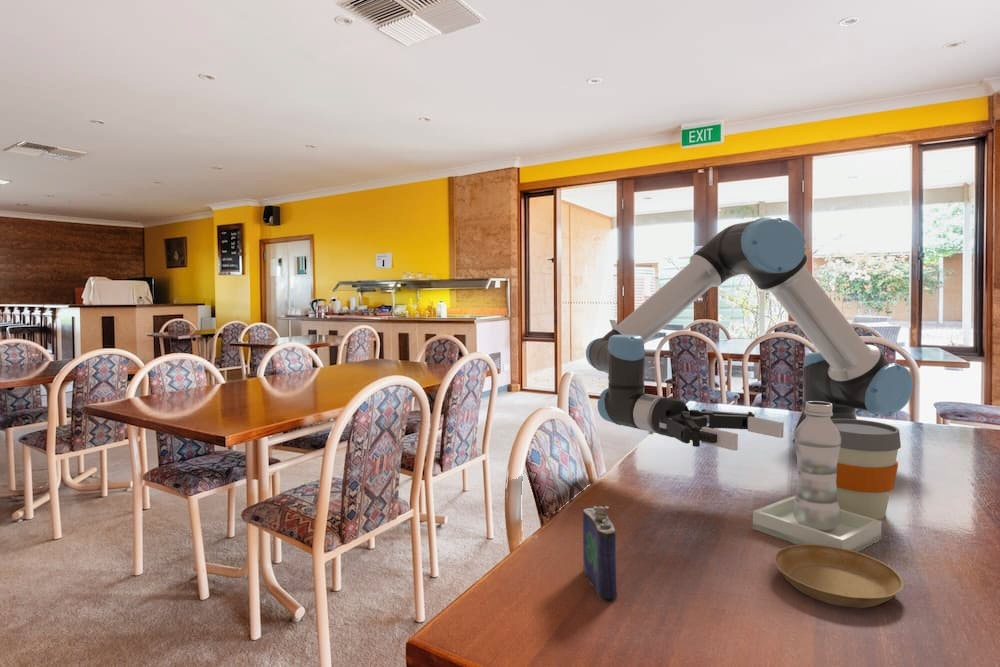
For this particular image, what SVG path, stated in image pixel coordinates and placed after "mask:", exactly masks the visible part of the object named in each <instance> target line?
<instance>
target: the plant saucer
mask: <svg viewBox="0 0 1000 667" xmlns="http://www.w3.org/2000/svg"><path fill="white" fill-rule="evenodd" d="M773 563H774V565H775V566H776V568H777V569H778V570H779V572H780V573H781V574H782V576H783V577H784V578H785V579H786V580H787V581H788V582H789V584H791V585H792V587H794V588H795V589H797V591H799V592H801V593H803V594H804V595H806V596H807V597H810V598H812V599H815V600H817V601H819V602H822V603H827V604H829V605H835V606H839V607H844V608H845V607H846V608H856V609H857V608H859V609H861V608H862V609H863V608H872V607H876V606H879V605H881V604H883V603H885V602H887V601H889V600H891V599H893V598H894V597H895V596H897V595H898V594H899V593H900V592H901V591H902V590H903V588H904V580H903V578H902V576H901V575H900V574H899V573H898V572H897V571H896V570H895V569H893V568H892V567H891V566H890V565H888V564H886V563H884V562H882V561H881V560H879V559H877V558H874V557H872V556H869V555H866V554H865V553H861V552H855V551H852V550H848V549H843V548H839V547H833V546H826V545H815V544H803V545H797V544H794V545H790V546H789V545H788V546H785V547H783V548H780V549H779V550H777V551H776V552H775V553H774V555H773Z"/></svg>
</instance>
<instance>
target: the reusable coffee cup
mask: <svg viewBox="0 0 1000 667" xmlns="http://www.w3.org/2000/svg"><path fill="white" fill-rule="evenodd" d="M831 421H832V422H833V423H834V425H835V426H836V427H837V429H838V431H839V432H840V435H841V439H842V440H841V445H840V446H841V447H840V453H839V458H838V465H837V472H836V474H837V478H836V483H837V496H838V502H839V506H840V509H841V510H845V511H848V512H851V513H855V514H858V515H862V516H865V517H869V518H872V519H876V520H877V519H879V520H882V519H884V518H885V517H886V515H887V510H888V506H889V505H888V504H889V499H890V494H891V491H893V490H894V488H895V485H896V478H897V474H898V467H899V461H897V456H898V453H899V452H898V451H899V449H901V448H902V446H901V445H902V444H901V434H900V433H901V432H900V429H899V428H898V427H896V426H894V425H892V424H888V423H884V422H880V421H879V422H878V421H873V420H866V419H831Z"/></svg>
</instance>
